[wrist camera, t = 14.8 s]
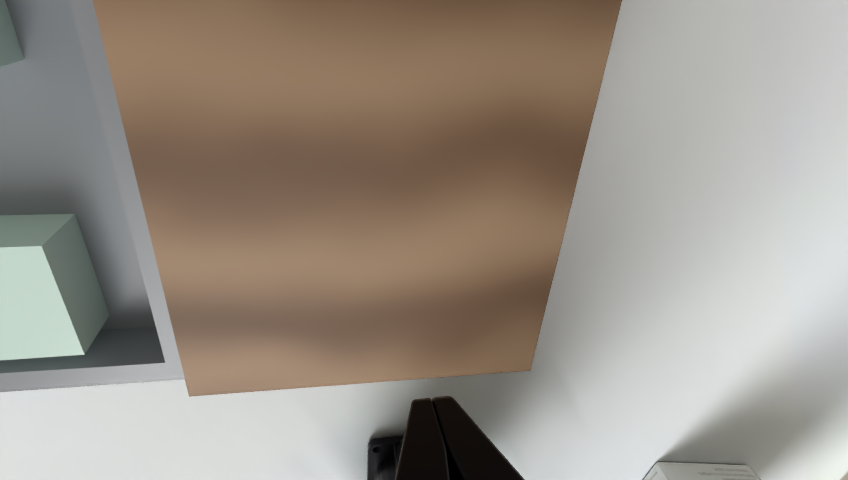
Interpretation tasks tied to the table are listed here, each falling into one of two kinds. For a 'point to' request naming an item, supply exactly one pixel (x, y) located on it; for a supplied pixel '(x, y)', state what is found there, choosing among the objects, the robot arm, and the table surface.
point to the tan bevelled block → (355, 177)
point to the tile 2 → (47, 288)
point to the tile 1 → (8, 38)
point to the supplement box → (700, 472)
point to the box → (81, 193)
